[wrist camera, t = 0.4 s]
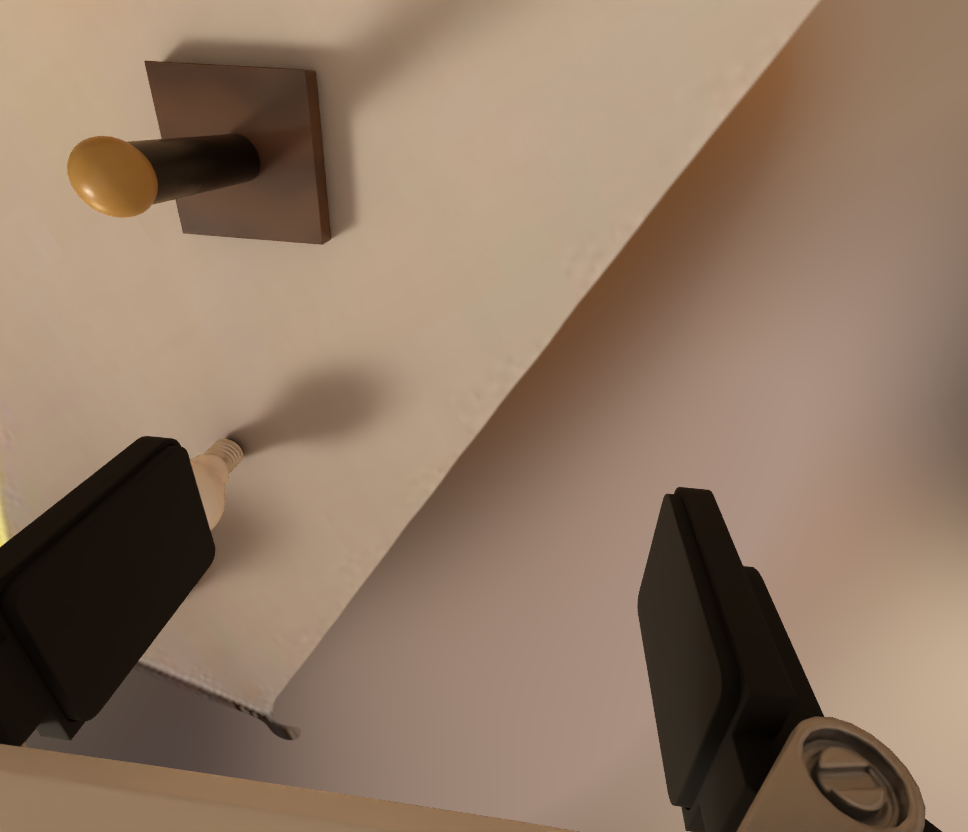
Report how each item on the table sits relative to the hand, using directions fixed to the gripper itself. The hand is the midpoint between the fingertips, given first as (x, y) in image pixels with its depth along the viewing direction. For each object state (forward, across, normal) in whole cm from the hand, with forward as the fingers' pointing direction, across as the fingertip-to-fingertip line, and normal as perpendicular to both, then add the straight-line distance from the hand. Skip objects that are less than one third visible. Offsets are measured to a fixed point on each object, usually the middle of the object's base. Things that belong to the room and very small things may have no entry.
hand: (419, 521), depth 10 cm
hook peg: (+28, +18, -4) cm, 33 cm away
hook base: (+29, +18, -4) cm, 35 cm away
